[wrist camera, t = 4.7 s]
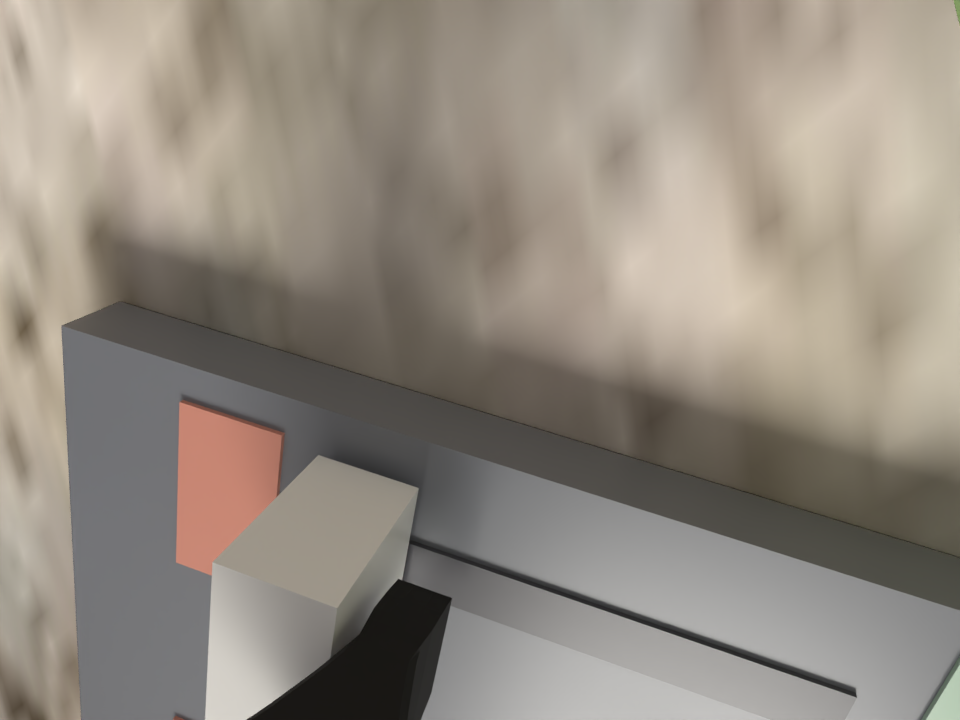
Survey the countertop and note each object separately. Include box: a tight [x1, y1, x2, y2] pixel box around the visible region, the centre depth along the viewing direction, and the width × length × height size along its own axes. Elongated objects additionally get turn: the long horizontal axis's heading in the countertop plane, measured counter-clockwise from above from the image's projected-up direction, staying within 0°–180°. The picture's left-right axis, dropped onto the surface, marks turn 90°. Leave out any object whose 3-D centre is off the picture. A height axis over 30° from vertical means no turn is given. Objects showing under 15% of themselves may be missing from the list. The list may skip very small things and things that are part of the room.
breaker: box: [205, 455, 419, 720], centre depth 12 cm, size 2×4×3 cm, turn 169°
